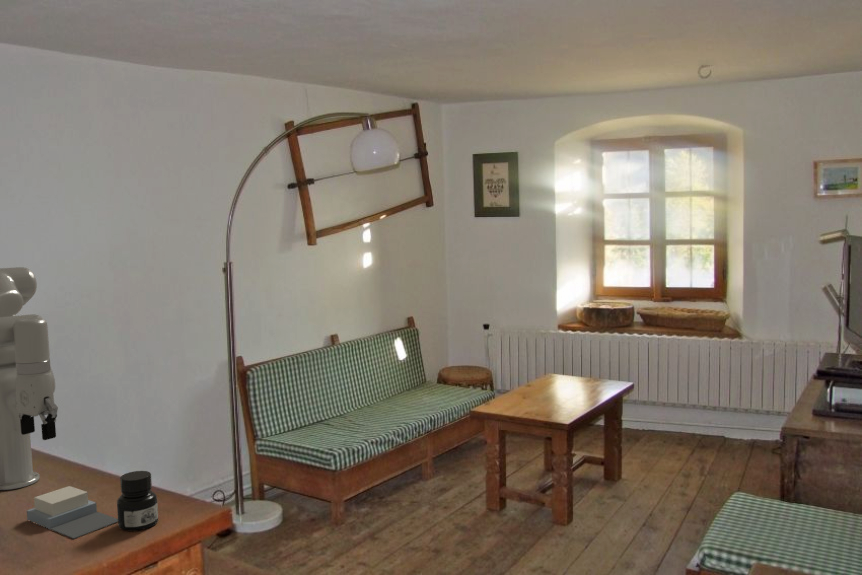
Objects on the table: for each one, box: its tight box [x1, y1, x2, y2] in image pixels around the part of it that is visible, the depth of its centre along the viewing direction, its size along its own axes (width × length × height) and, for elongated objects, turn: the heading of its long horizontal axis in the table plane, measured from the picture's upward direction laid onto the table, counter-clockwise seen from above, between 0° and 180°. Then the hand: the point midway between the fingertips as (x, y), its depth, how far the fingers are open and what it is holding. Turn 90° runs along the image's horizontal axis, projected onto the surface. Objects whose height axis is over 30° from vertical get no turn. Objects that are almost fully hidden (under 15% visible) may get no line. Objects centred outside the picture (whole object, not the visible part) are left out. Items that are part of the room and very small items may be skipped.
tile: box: [33, 485, 89, 516], centre depth 188 cm, size 8×9×3 cm
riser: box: [26, 499, 98, 530], centre depth 188 cm, size 10×12×2 cm
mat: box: [50, 511, 118, 540], centre depth 183 cm, size 10×12×1 cm
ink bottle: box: [116, 470, 159, 532], centre depth 182 cm, size 10×9×12 cm
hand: (38, 435), depth 191 cm, fingers open, 9 cm apart
